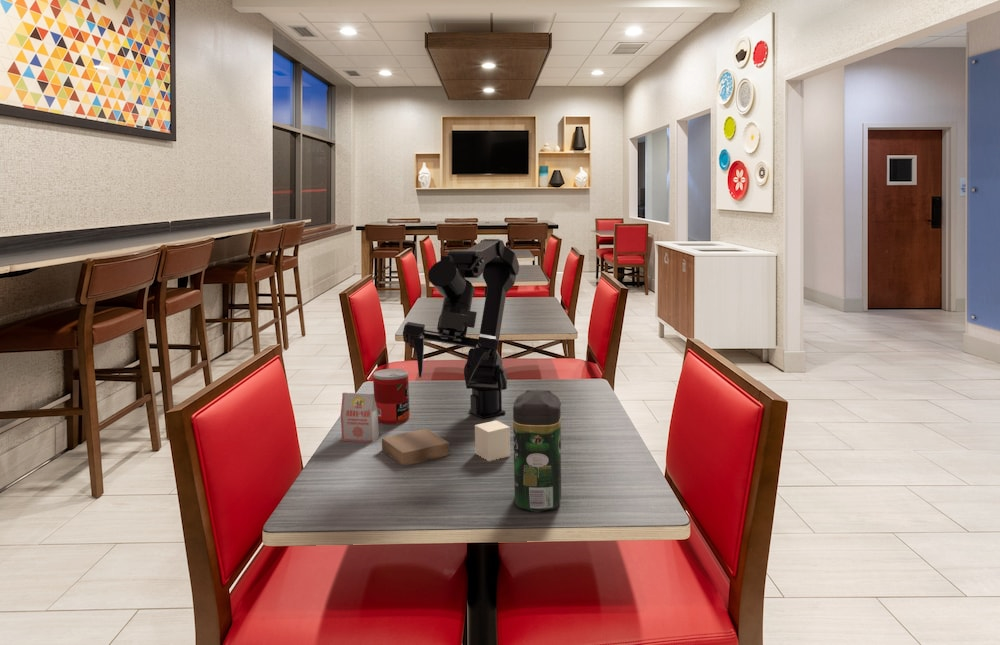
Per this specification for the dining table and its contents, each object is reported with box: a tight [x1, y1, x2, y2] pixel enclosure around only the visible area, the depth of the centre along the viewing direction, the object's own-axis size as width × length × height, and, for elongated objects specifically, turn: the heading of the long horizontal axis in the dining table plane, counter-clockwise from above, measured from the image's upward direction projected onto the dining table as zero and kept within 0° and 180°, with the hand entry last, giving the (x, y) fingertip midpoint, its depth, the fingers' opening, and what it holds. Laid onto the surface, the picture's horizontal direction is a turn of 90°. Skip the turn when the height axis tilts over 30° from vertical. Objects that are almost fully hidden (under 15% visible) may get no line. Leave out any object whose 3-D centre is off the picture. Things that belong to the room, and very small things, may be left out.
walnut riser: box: [381, 428, 450, 467], centre depth 141 cm, size 10×10×3 cm
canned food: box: [372, 368, 411, 425], centre depth 161 cm, size 8×8×11 cm
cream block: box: [474, 420, 511, 462], centre depth 139 cm, size 5×5×6 cm
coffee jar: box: [512, 389, 562, 512], centre depth 117 cm, size 10×8×19 cm
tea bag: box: [340, 392, 380, 443], centre depth 149 cm, size 4×7×10 cm, turn 81°
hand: (443, 380), depth 138 cm, fingers open, 9 cm apart
